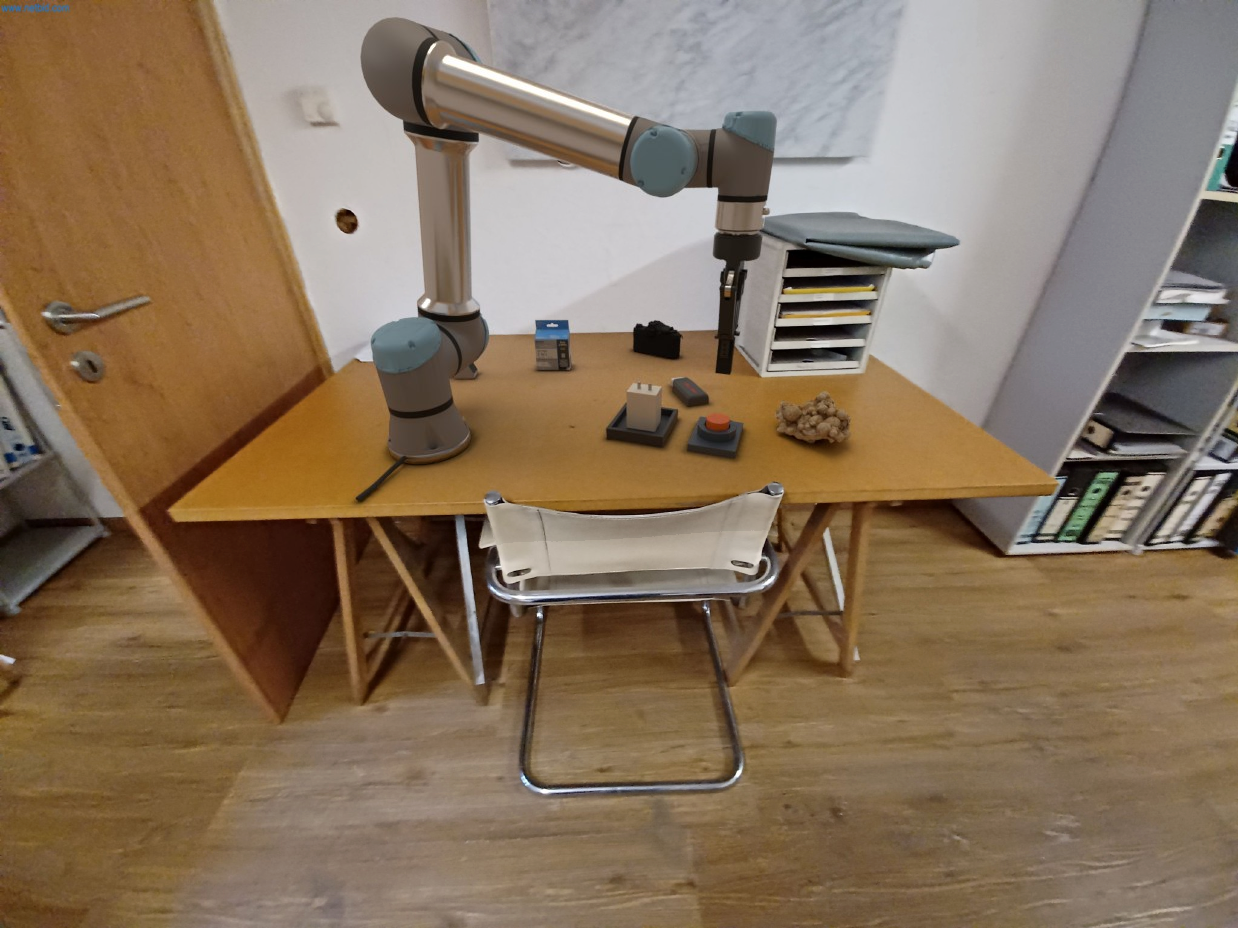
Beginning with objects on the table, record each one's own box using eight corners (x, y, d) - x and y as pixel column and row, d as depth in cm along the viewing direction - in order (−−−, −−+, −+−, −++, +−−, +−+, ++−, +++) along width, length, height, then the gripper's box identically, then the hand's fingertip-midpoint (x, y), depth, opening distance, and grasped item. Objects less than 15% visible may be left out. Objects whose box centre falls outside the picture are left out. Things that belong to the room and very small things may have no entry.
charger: (654, 432, 100) (656, 388, 95) (626, 427, 101) (626, 384, 96) (660, 422, 103) (662, 380, 98) (633, 418, 105) (633, 376, 100)
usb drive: (687, 407, 111) (688, 396, 110) (666, 386, 121) (667, 376, 119) (708, 404, 112) (709, 393, 111) (686, 384, 122) (687, 373, 121)
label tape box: (536, 370, 130) (531, 324, 124) (539, 365, 134) (534, 319, 127) (570, 371, 130) (567, 324, 123) (572, 365, 133) (569, 319, 127)
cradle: (662, 448, 96) (663, 437, 95) (606, 439, 100) (606, 428, 98) (677, 419, 106) (678, 409, 105) (626, 412, 110) (626, 401, 108)
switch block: (734, 459, 93) (736, 443, 91) (686, 451, 95) (687, 435, 93) (742, 430, 102) (744, 414, 100) (699, 423, 105) (700, 408, 103)
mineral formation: (825, 417, 106) (869, 448, 93) (766, 433, 105) (802, 466, 92) (826, 382, 102) (872, 410, 89) (765, 398, 101) (802, 428, 88)
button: (726, 433, 95) (727, 425, 94) (703, 429, 96) (704, 421, 95) (730, 423, 98) (731, 415, 97) (708, 419, 99) (708, 411, 98)
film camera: (691, 350, 142) (693, 319, 137) (675, 361, 135) (677, 328, 130) (644, 341, 149) (645, 311, 144) (627, 351, 142) (628, 319, 137)
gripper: (758, 238, 72) (739, 389, 85) (767, 226, 82) (748, 362, 95) (707, 236, 74) (695, 383, 87) (721, 225, 85) (709, 358, 97)
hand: (723, 372), depth 91 cm, fingers closed
